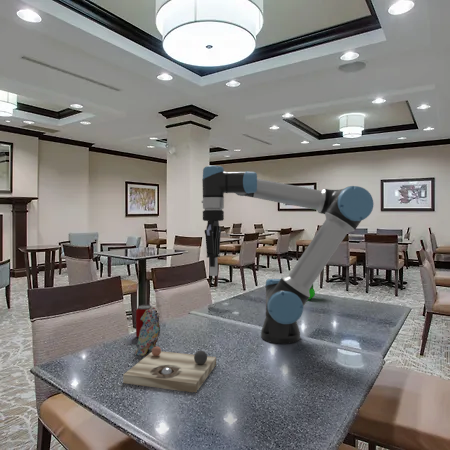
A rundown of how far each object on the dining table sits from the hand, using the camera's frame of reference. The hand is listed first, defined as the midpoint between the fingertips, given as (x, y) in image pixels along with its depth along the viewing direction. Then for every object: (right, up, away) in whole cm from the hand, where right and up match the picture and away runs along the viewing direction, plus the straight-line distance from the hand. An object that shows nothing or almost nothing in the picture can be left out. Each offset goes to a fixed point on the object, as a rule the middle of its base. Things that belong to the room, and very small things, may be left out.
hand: (213, 275), depth 128 cm
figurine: (-23, -27, -1) cm, 35 cm away
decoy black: (-3, -22, -19) cm, 30 cm away
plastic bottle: (+51, -25, +78) cm, 96 cm away
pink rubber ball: (-18, -23, -13) cm, 32 cm away
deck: (-12, -27, -20) cm, 36 cm away
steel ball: (-13, -25, -24) cm, 37 cm away
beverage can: (-28, -26, +13) cm, 40 cm away
